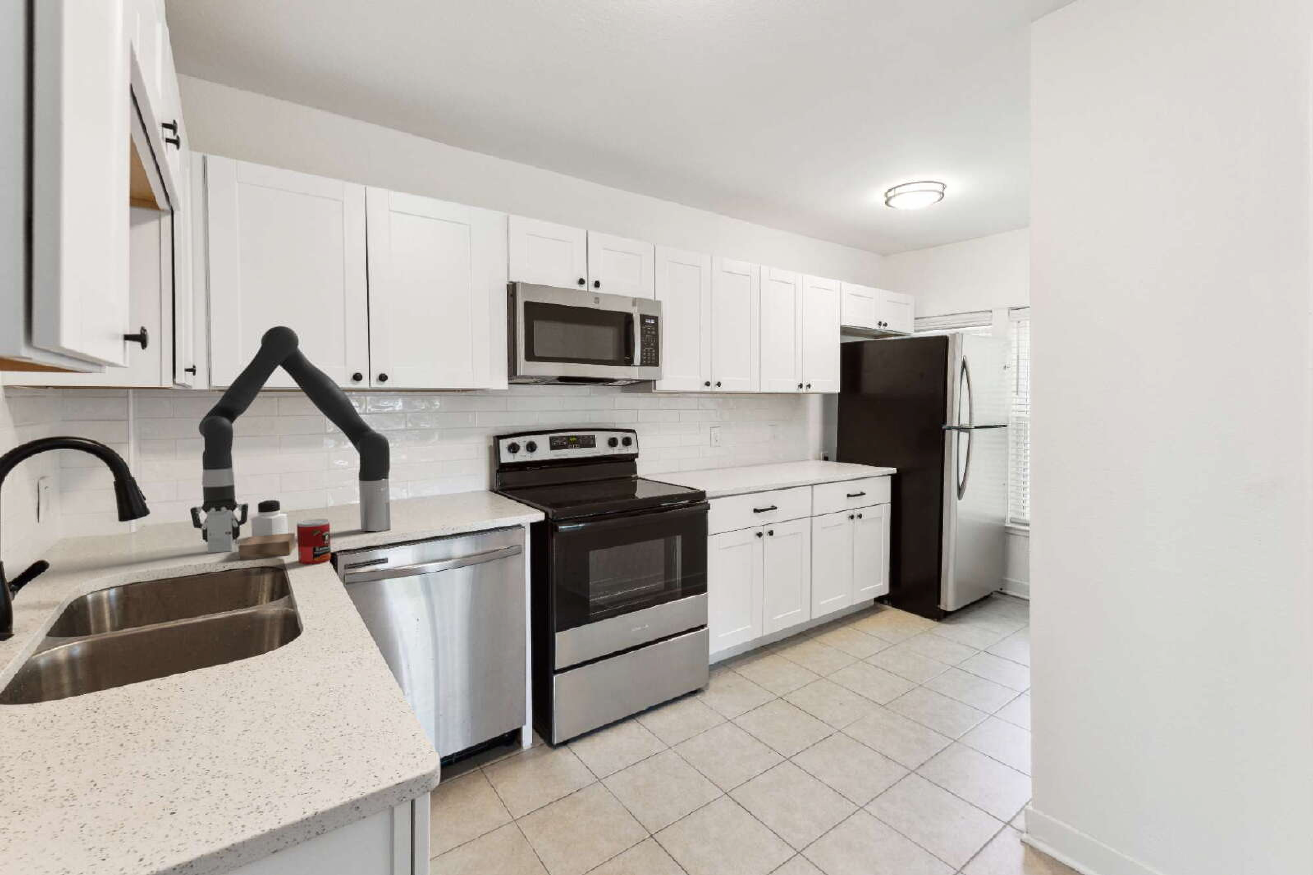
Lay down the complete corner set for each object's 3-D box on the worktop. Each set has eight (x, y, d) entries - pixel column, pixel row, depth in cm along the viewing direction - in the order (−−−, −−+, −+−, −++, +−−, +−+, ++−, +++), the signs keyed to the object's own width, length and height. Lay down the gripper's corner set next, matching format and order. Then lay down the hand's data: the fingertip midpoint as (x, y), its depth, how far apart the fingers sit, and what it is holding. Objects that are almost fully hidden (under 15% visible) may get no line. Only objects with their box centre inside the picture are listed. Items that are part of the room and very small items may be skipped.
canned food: (317, 565, 160) (315, 524, 159) (291, 564, 161) (289, 523, 161) (337, 558, 168) (336, 519, 167) (312, 557, 169) (310, 518, 168)
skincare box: (207, 553, 174) (205, 512, 173) (211, 550, 178) (209, 509, 177) (233, 551, 176) (230, 510, 176) (236, 547, 180) (234, 508, 180)
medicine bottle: (288, 535, 197) (286, 499, 196) (272, 540, 190) (270, 502, 189) (268, 535, 198) (266, 499, 197) (251, 540, 191) (249, 502, 190)
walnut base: (295, 545, 182) (294, 532, 182) (289, 555, 171) (288, 541, 171) (248, 550, 177) (247, 536, 177) (239, 559, 166) (238, 545, 166)
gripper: (250, 481, 182) (253, 535, 183) (192, 484, 176) (195, 540, 177) (245, 484, 175) (248, 540, 177) (184, 487, 170) (187, 545, 171)
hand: (221, 540), depth 177 cm, fingers open, 6 cm apart
